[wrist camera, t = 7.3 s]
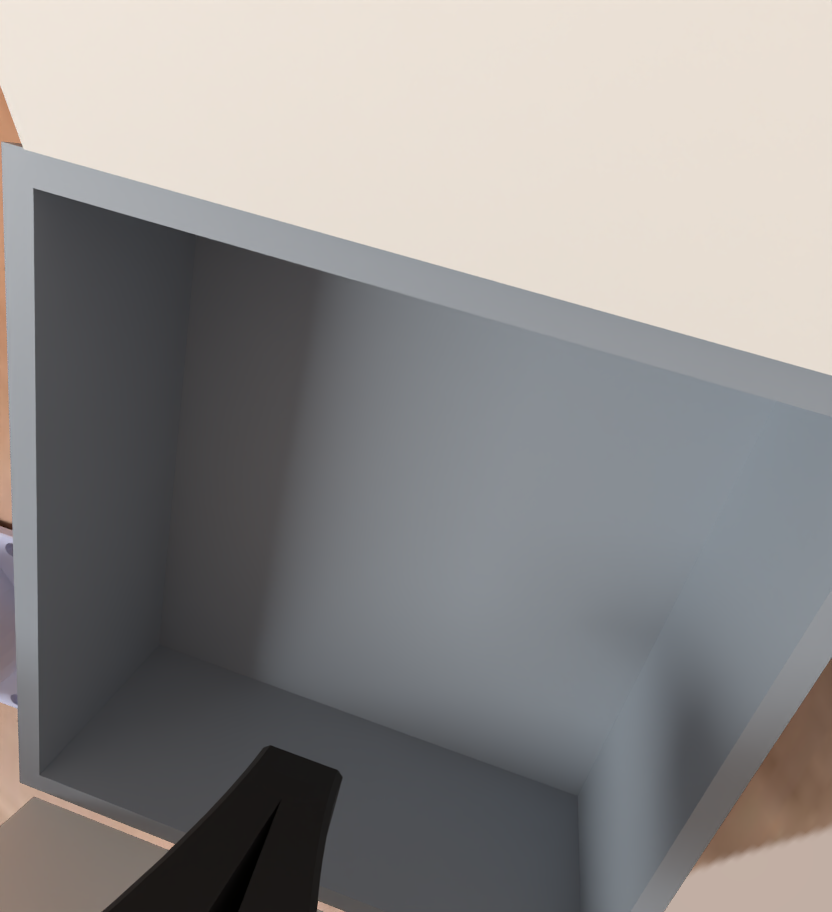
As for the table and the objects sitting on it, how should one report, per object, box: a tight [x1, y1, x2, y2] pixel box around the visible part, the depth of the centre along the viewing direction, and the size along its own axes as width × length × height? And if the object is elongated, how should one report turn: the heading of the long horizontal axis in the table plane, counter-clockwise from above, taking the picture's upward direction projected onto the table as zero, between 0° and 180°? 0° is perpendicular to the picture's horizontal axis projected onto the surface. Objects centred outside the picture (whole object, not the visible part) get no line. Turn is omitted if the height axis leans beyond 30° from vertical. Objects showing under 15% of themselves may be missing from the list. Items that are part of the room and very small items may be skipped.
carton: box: [1, 142, 832, 912], centre depth 16 cm, size 16×16×6 cm
